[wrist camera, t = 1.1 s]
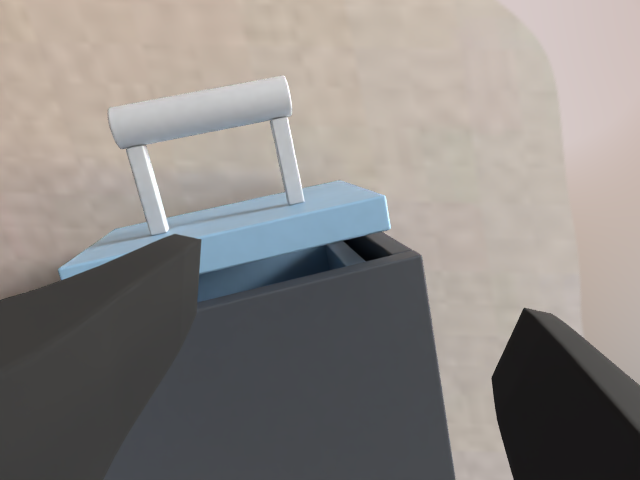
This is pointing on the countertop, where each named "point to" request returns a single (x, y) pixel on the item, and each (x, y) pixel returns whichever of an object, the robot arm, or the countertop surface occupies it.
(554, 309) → the countertop surface
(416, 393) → the dark grey drawer cabinet
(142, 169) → the blue drawer
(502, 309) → the countertop surface
